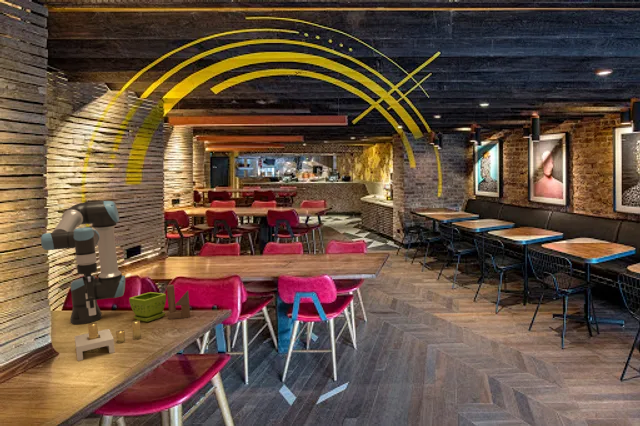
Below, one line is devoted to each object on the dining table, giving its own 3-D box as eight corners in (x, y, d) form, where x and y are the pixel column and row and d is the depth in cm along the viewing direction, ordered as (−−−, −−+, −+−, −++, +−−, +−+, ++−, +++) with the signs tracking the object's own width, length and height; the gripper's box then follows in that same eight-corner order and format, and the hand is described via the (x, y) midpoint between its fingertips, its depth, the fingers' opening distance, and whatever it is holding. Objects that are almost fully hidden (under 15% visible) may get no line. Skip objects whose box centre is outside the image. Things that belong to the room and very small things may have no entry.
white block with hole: (75, 349, 188) (74, 336, 188) (110, 341, 196) (109, 328, 195) (77, 361, 175) (76, 347, 174) (114, 352, 182) (113, 338, 182)
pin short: (116, 341, 195) (115, 331, 195) (124, 339, 197) (123, 329, 197) (117, 344, 192) (116, 333, 192) (125, 342, 194) (124, 331, 194)
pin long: (90, 350, 186) (87, 324, 185) (99, 348, 188) (96, 322, 187) (90, 353, 183) (88, 326, 182) (100, 350, 185) (97, 324, 184)
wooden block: (188, 318, 225) (186, 285, 224) (168, 319, 224) (165, 286, 223) (190, 315, 229) (187, 283, 227) (170, 317, 228) (167, 284, 226)
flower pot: (168, 316, 230) (166, 293, 229) (146, 324, 218) (144, 300, 217) (152, 313, 237) (150, 291, 236) (129, 320, 225) (127, 297, 224)
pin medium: (132, 337, 199) (131, 321, 198) (140, 336, 201) (139, 319, 200) (133, 340, 196) (132, 323, 195) (142, 338, 198) (140, 321, 197)
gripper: (75, 260, 191) (79, 305, 193) (78, 269, 170) (83, 320, 172) (93, 257, 195) (98, 302, 197) (99, 266, 174) (103, 316, 176)
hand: (91, 311), depth 184 cm, fingers open, 13 cm apart
